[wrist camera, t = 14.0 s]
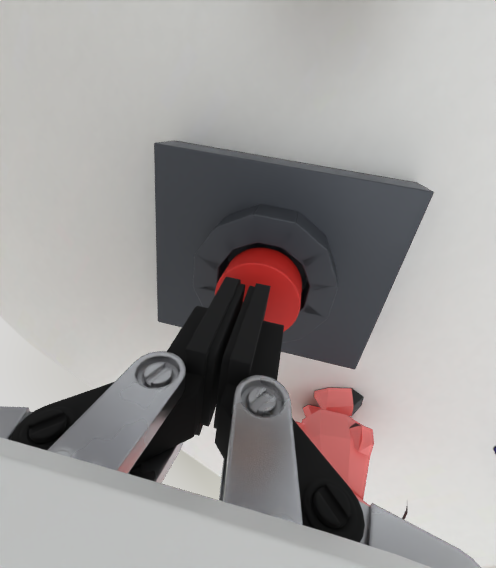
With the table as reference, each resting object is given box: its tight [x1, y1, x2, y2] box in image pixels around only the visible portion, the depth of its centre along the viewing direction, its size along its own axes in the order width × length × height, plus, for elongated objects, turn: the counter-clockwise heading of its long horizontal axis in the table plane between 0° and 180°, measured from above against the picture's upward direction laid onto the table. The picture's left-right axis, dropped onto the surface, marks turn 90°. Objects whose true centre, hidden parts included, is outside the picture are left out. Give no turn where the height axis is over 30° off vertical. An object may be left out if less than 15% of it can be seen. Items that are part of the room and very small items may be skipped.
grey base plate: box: [154, 141, 434, 369], centre depth 15 cm, size 12×10×4 cm
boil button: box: [215, 247, 302, 332], centre depth 13 cm, size 4×4×2 cm
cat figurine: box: [295, 388, 407, 520], centre depth 16 cm, size 7×7×12 cm
